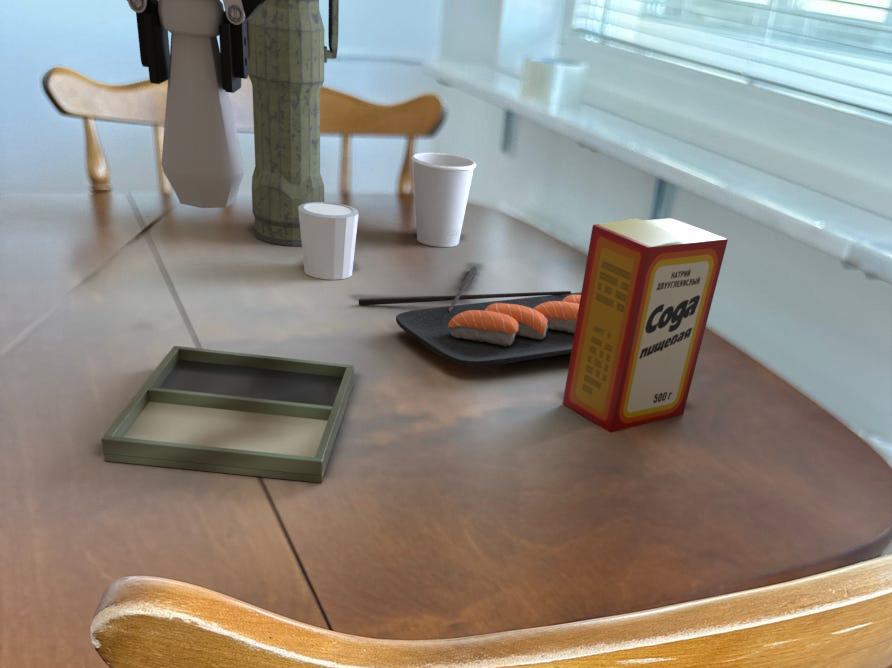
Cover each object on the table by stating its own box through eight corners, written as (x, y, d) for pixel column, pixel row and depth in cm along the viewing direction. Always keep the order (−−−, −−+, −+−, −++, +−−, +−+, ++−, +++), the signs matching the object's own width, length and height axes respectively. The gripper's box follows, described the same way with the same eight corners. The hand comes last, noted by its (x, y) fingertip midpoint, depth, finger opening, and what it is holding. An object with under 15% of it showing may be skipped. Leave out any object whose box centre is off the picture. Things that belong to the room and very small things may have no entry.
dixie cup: (394, 235, 125) (398, 153, 118) (441, 229, 129) (447, 150, 123) (434, 252, 120) (440, 168, 114) (481, 246, 125) (489, 165, 119)
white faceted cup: (368, 272, 111) (370, 209, 106) (337, 285, 106) (338, 220, 101) (319, 259, 113) (319, 197, 108) (286, 272, 107) (285, 207, 103)
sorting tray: (104, 461, 68) (100, 438, 67) (175, 365, 83) (173, 345, 82) (321, 483, 69) (321, 461, 68) (353, 384, 84) (354, 365, 83)
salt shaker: (172, 188, 71) (153, -17, 63) (249, 195, 72) (239, -8, 64) (159, 207, 67) (136, -12, 59) (240, 214, 67) (229, -2, 59)
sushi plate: (458, 385, 86) (462, 345, 84) (317, 284, 105) (317, 249, 103) (682, 349, 101) (691, 314, 98) (523, 266, 119) (527, 235, 117)
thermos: (234, 226, 120) (217, -121, 99) (323, 226, 124) (324, -106, 103) (250, 246, 114) (234, -119, 92) (343, 246, 118) (348, -103, 97)
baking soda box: (634, 387, 91) (672, 213, 81) (683, 414, 87) (729, 234, 77) (562, 403, 86) (593, 220, 76) (610, 432, 82) (649, 242, 72)
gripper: (-5, -313, 50) (54, 78, 61) (307, -268, 51) (310, 108, 62) (45, -287, 56) (91, 64, 67) (325, -247, 57) (324, 92, 68)
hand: (196, 82), depth 65 cm, fingers closed on salt shaker, 4 cm apart
